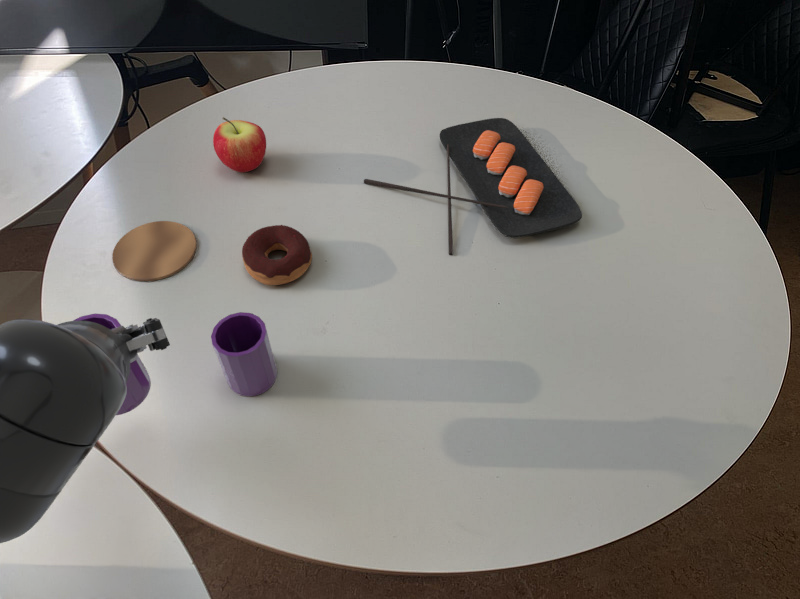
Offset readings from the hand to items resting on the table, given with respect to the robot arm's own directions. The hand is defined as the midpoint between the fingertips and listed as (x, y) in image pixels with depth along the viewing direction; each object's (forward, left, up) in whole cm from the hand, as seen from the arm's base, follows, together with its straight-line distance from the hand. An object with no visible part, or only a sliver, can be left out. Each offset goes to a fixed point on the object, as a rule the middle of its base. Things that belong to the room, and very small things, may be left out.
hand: (98, 349), depth 60 cm
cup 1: (0, -2, -5) cm, 6 cm away
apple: (+19, +45, -16) cm, 51 cm away
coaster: (+3, +29, -15) cm, 33 cm away
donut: (+20, +21, -16) cm, 33 cm away
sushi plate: (+52, +28, -16) cm, 61 cm away
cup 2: (+13, +3, -15) cm, 20 cm away
